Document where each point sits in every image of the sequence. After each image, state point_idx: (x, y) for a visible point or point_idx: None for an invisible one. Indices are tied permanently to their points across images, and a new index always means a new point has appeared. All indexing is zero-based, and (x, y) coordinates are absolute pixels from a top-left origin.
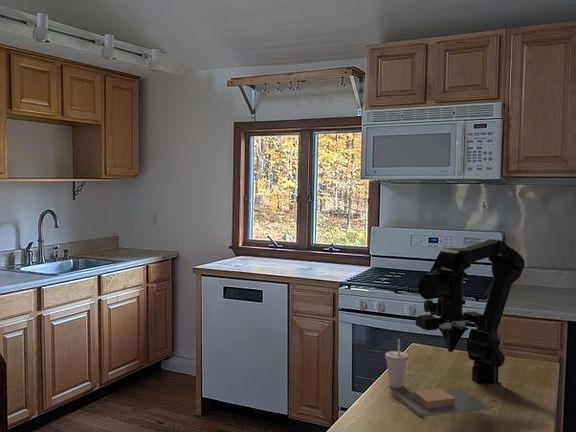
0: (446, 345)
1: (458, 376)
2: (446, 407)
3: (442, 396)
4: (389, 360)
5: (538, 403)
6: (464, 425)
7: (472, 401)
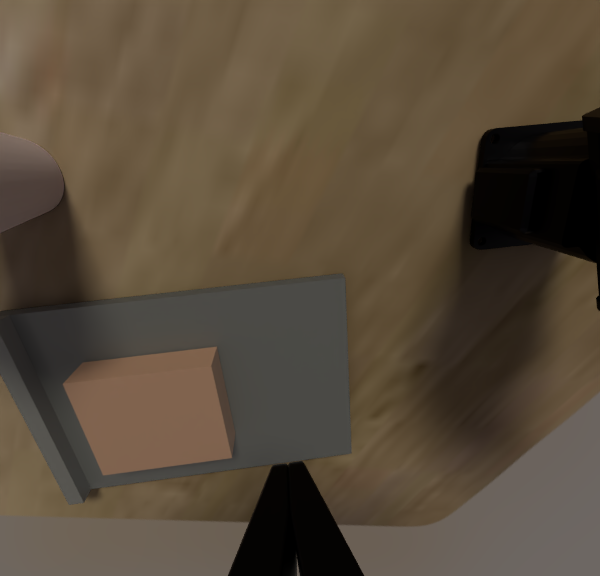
0: (249, 526)
1: (463, 49)
2: None
3: (186, 439)
4: None
5: (545, 405)
6: (217, 512)
7: (323, 401)
